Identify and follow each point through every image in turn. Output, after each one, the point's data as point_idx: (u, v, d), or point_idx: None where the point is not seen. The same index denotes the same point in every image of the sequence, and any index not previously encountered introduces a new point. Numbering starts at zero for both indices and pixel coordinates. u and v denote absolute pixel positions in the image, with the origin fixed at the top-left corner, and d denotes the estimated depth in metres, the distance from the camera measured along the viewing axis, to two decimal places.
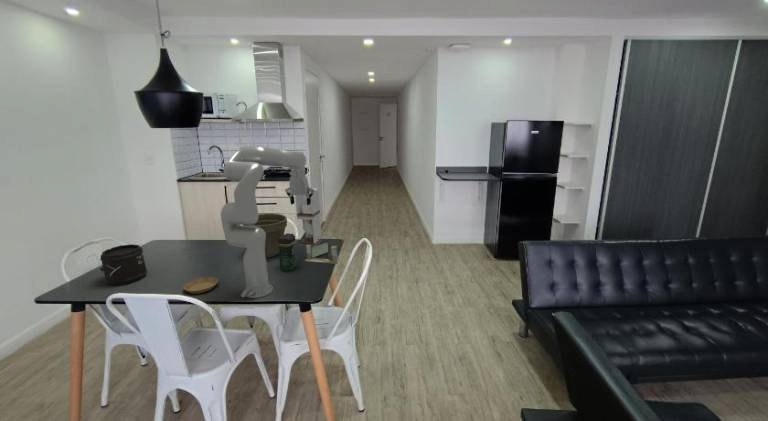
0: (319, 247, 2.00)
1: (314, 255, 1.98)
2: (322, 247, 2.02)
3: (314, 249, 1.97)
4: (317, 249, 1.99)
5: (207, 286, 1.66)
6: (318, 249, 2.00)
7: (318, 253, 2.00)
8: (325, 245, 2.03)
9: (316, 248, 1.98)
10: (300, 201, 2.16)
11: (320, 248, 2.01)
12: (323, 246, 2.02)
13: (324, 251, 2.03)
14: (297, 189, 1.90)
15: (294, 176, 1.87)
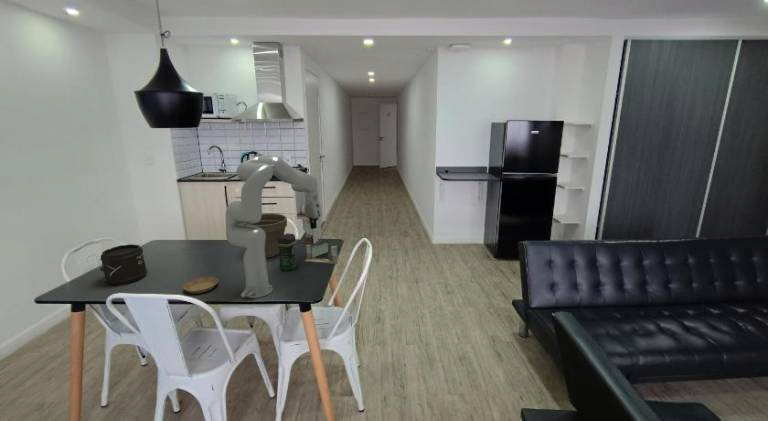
0: (319, 247, 2.00)
1: (314, 255, 1.98)
2: (322, 247, 2.02)
3: (314, 249, 1.97)
4: (317, 249, 1.99)
5: (207, 286, 1.66)
6: (318, 249, 2.00)
7: (318, 253, 2.00)
8: (325, 245, 2.03)
9: (316, 248, 1.98)
10: (300, 201, 2.16)
11: (320, 248, 2.01)
12: (323, 246, 2.02)
13: (324, 251, 2.03)
14: None
15: None
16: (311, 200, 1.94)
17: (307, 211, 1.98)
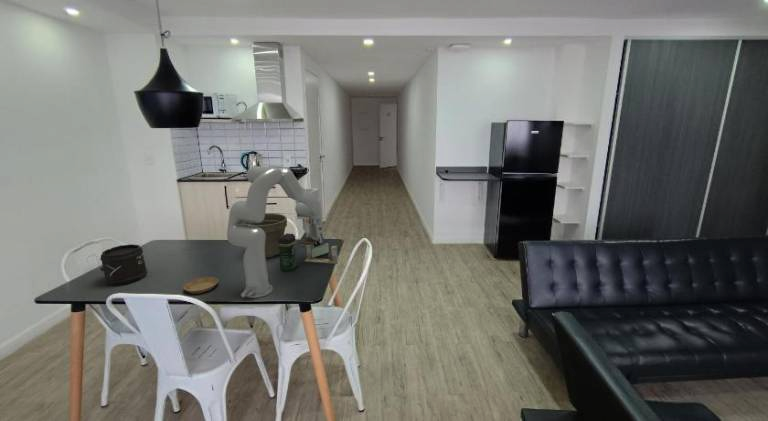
0: (319, 247, 1.99)
1: (314, 255, 1.98)
2: (323, 247, 2.01)
3: (314, 249, 1.97)
4: (317, 249, 1.98)
5: (207, 286, 1.66)
6: (318, 249, 1.99)
7: (318, 253, 2.00)
8: (326, 245, 2.03)
9: (316, 248, 1.98)
10: None
11: (321, 248, 2.00)
12: (324, 246, 2.02)
13: (325, 251, 2.03)
14: None
15: None
16: (314, 223, 1.95)
17: (311, 233, 2.00)
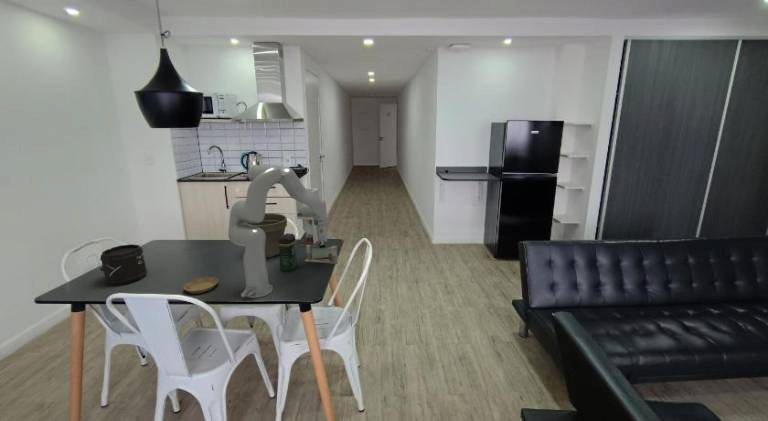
0: (321, 250, 1.96)
1: (315, 256, 1.96)
2: (325, 250, 1.96)
3: (315, 250, 1.95)
4: (318, 251, 1.96)
5: (207, 286, 1.66)
6: (320, 251, 1.96)
7: (320, 255, 1.96)
8: (329, 249, 1.97)
9: (317, 250, 1.95)
10: None
11: (323, 251, 1.96)
12: (327, 250, 1.96)
13: None
14: None
15: None
16: (316, 224, 1.92)
17: None
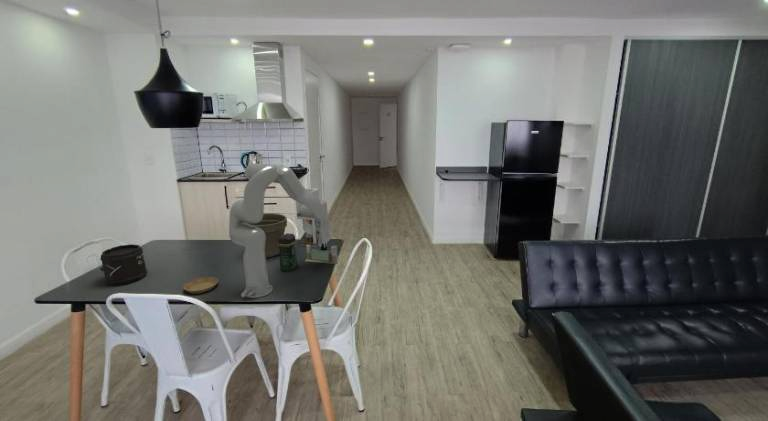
0: (319, 252, 1.92)
1: (314, 257, 1.94)
2: (323, 253, 1.92)
3: (313, 251, 1.93)
4: (317, 252, 1.93)
5: (207, 286, 1.66)
6: (318, 253, 1.93)
7: (318, 257, 1.94)
8: (327, 253, 1.91)
9: (316, 251, 1.93)
10: None
11: (321, 253, 1.93)
12: (324, 253, 1.92)
13: (326, 258, 1.92)
14: (327, 236, 1.92)
15: (327, 224, 1.89)
16: (315, 225, 1.89)
17: None
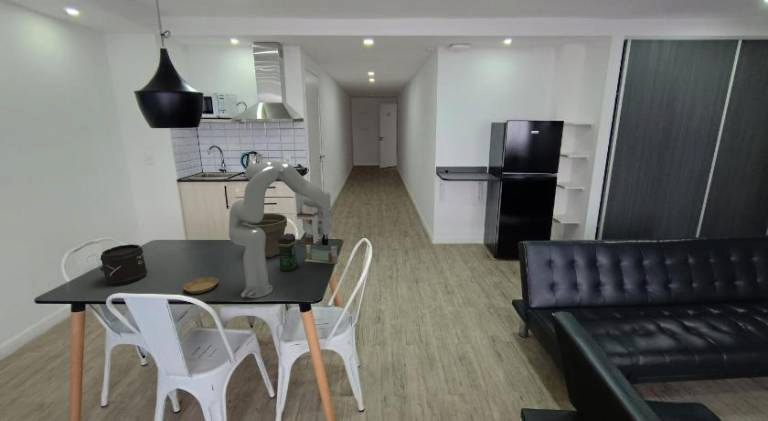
0: (319, 252, 1.92)
1: (314, 257, 1.94)
2: (323, 253, 1.92)
3: (313, 251, 1.93)
4: (317, 252, 1.93)
5: (207, 286, 1.66)
6: (318, 253, 1.93)
7: (318, 257, 1.94)
8: (327, 253, 1.91)
9: (316, 251, 1.93)
10: (300, 201, 2.16)
11: (321, 253, 1.93)
12: (324, 253, 1.92)
13: (326, 258, 1.92)
14: (329, 227, 1.94)
15: (329, 215, 1.92)
16: (317, 215, 1.91)
17: None
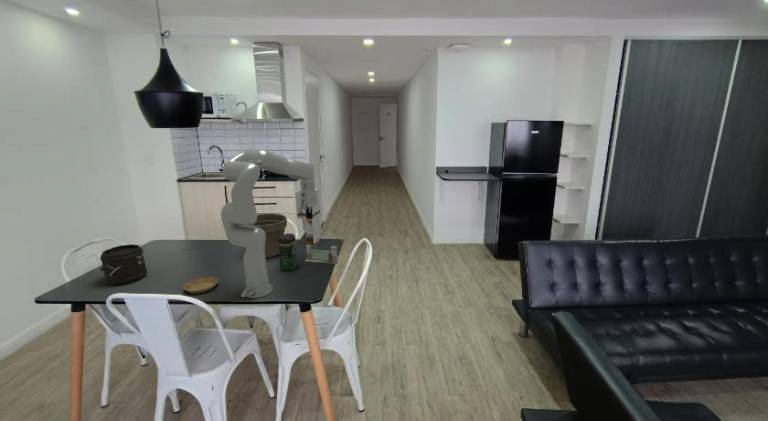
0: (319, 252, 1.92)
1: (314, 257, 1.94)
2: (323, 253, 1.92)
3: (313, 251, 1.93)
4: (317, 252, 1.93)
5: (207, 286, 1.66)
6: (318, 253, 1.93)
7: (318, 257, 1.94)
8: (327, 253, 1.91)
9: (316, 251, 1.93)
10: (300, 201, 2.16)
11: (321, 253, 1.93)
12: (324, 253, 1.92)
13: (326, 258, 1.92)
14: (313, 200, 1.89)
15: (313, 187, 1.86)
16: (301, 187, 1.86)
17: None
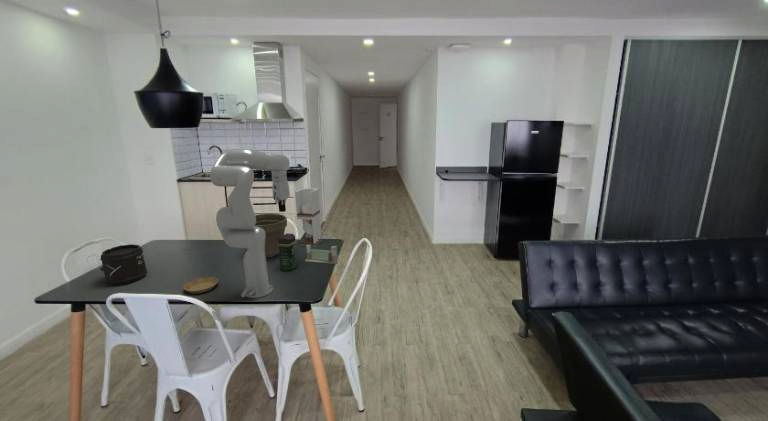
0: (319, 252, 1.92)
1: (314, 257, 1.94)
2: (323, 253, 1.92)
3: (313, 251, 1.93)
4: (317, 252, 1.93)
5: (207, 286, 1.66)
6: (318, 253, 1.93)
7: (318, 257, 1.94)
8: (327, 253, 1.91)
9: (316, 251, 1.93)
10: (300, 201, 2.16)
11: (321, 253, 1.93)
12: (324, 253, 1.92)
13: (326, 258, 1.92)
14: (285, 192, 1.85)
15: (285, 179, 1.82)
16: (272, 180, 1.82)
17: None
